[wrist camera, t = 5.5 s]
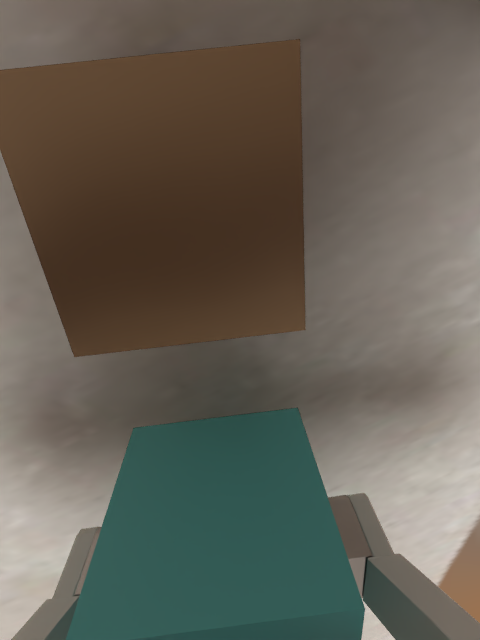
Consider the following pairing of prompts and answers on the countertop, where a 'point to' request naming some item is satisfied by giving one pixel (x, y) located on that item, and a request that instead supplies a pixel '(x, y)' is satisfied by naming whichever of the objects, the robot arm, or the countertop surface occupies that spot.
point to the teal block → (219, 539)
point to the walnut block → (163, 192)
